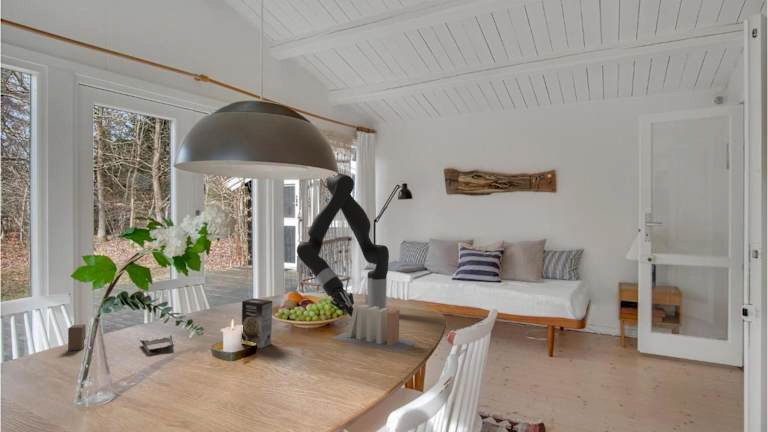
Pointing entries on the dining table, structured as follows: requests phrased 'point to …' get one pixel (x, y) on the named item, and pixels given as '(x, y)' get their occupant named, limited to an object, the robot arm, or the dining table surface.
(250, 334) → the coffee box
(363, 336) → the domino
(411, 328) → the dining table surface
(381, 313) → the domino
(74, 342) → the wooden block
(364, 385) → the dining table surface
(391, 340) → the domino
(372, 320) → the domino
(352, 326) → the domino
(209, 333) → the dining table surface
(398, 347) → the grey ridged plate
